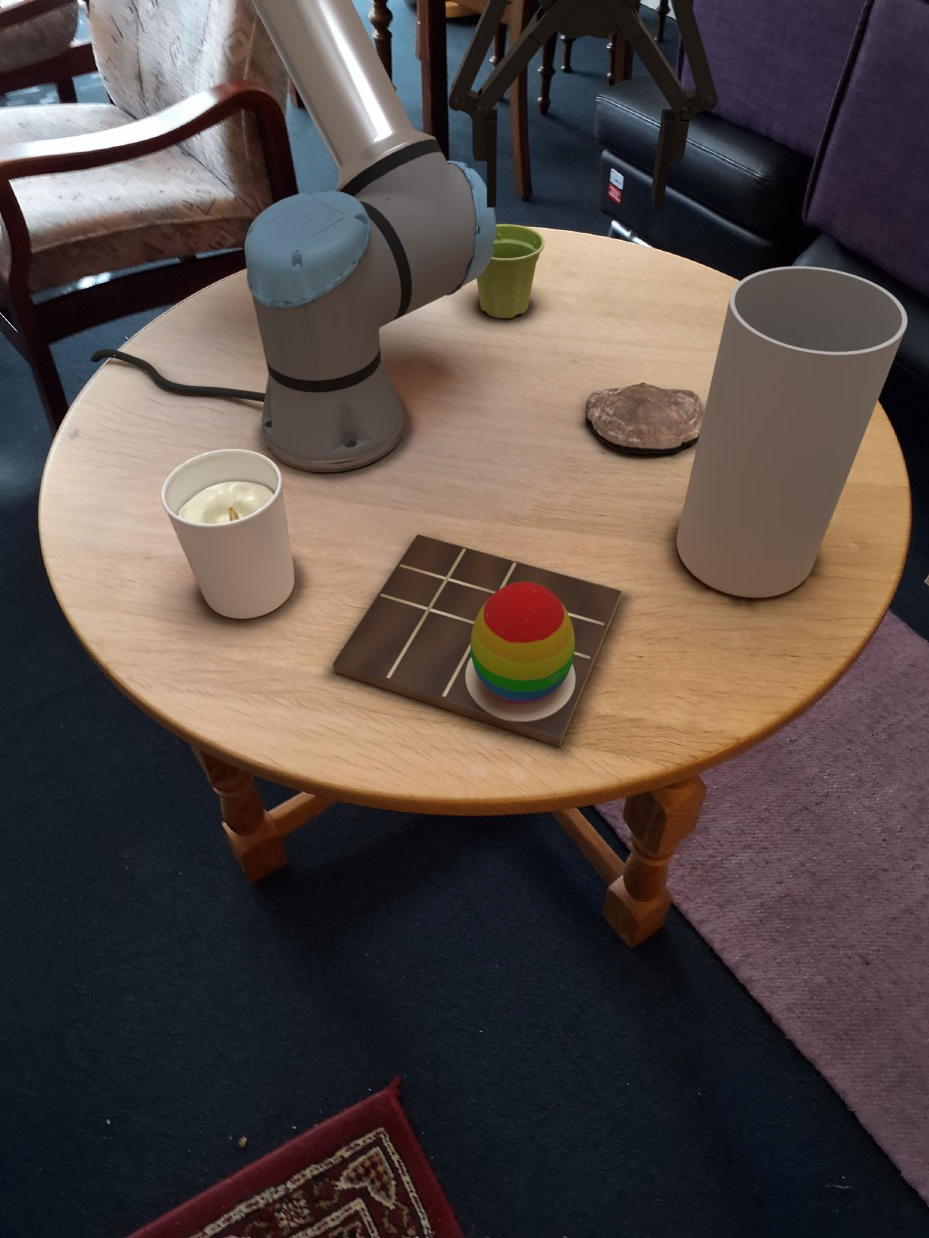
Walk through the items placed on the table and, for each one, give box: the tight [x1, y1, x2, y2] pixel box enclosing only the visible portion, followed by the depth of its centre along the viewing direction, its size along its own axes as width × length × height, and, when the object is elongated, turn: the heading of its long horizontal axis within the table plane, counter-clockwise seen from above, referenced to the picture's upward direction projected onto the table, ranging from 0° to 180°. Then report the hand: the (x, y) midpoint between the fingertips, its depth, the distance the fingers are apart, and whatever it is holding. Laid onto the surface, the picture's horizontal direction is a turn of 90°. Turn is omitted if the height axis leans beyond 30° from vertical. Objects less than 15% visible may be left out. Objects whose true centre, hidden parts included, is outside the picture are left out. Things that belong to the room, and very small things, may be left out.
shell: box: [585, 382, 704, 455], centre depth 96 cm, size 12×13×4 cm
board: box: [332, 534, 622, 748], centre depth 77 cm, size 20×17×1 cm
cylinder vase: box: [676, 265, 908, 599], centre depth 75 cm, size 12×12×25 cm
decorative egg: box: [470, 582, 575, 703], centre depth 69 cm, size 8×8×10 cm
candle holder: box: [160, 448, 296, 620], centre depth 78 cm, size 10×10×12 cm
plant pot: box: [476, 223, 545, 319], centre depth 111 cm, size 9×9×9 cm
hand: (573, 201), depth 74 cm, fingers open, 13 cm apart
